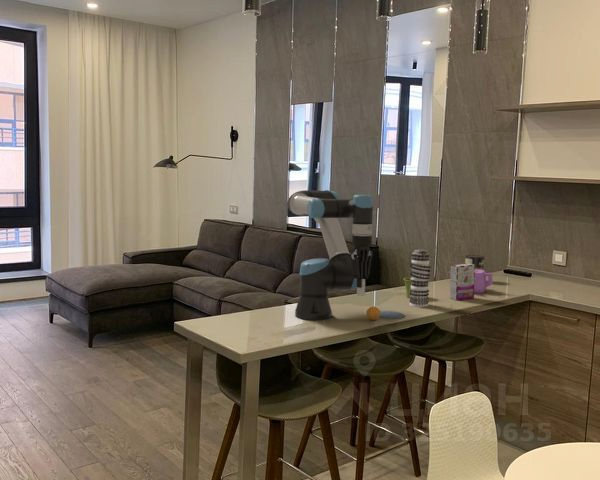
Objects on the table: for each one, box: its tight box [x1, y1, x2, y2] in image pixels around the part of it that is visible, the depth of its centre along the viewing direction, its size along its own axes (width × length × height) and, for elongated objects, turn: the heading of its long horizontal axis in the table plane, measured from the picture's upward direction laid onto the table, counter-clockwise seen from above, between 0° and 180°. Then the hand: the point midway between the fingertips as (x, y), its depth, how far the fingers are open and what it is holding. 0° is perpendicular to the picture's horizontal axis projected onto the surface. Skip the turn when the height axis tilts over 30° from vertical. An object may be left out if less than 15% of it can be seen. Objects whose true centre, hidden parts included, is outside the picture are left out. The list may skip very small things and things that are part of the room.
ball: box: [366, 306, 380, 321], centre depth 246 cm, size 6×6×6 cm
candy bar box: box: [449, 263, 475, 301], centre depth 291 cm, size 11×5×16 cm, turn 117°
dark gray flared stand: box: [464, 254, 485, 271], centre depth 341 cm, size 10×10×14 cm
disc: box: [379, 310, 406, 320], centre depth 255 cm, size 13×13×1 cm
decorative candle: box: [408, 248, 432, 308], centre depth 275 cm, size 9×9×25 cm
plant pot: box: [403, 277, 411, 299], centre depth 294 cm, size 9×9×9 cm
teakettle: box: [448, 269, 494, 295], centre depth 312 cm, size 17×17×12 cm
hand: (360, 295), depth 237 cm, fingers closed
